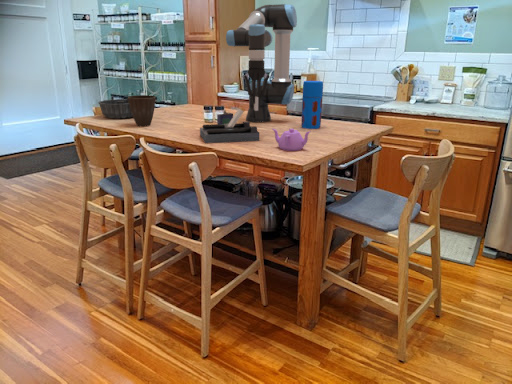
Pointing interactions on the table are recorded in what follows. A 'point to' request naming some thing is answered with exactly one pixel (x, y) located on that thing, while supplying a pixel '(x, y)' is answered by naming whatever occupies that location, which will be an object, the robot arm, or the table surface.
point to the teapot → (291, 140)
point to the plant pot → (142, 109)
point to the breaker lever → (236, 116)
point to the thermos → (312, 104)
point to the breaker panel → (229, 133)
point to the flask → (224, 117)
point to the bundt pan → (116, 108)
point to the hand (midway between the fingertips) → (256, 110)
